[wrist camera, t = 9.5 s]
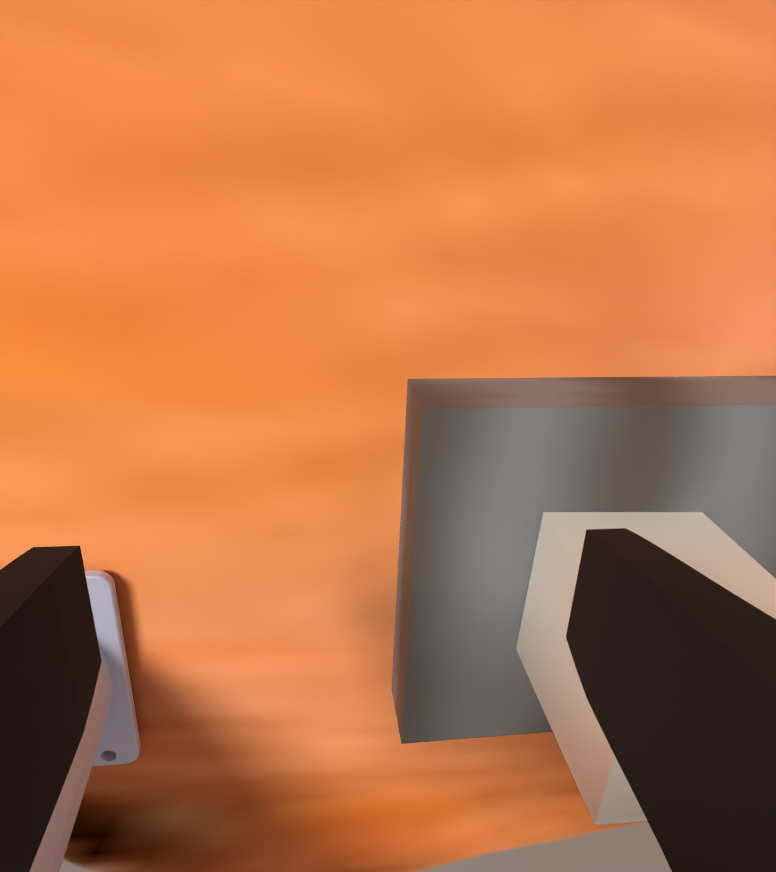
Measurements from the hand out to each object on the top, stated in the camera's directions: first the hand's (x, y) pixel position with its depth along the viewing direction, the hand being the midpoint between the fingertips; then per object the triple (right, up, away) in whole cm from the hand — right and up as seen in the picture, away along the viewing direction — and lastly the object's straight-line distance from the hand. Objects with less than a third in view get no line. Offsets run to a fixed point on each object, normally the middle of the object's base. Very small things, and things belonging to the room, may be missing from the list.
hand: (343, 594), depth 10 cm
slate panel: (+7, -1, +14) cm, 15 cm away
